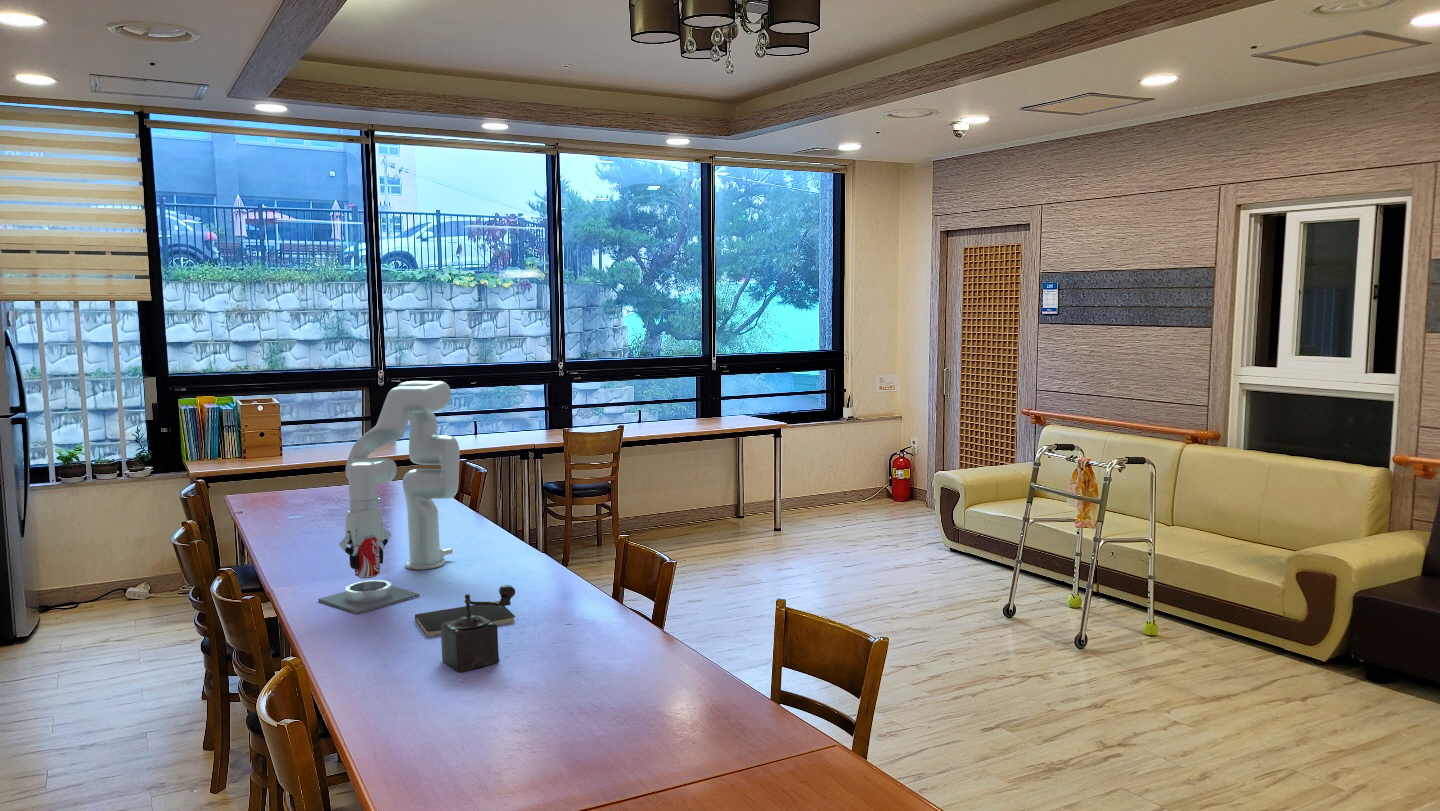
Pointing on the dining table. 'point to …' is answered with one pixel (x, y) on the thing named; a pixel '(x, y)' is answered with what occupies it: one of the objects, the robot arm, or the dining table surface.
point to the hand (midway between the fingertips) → (367, 565)
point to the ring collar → (368, 591)
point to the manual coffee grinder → (473, 637)
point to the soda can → (368, 558)
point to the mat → (357, 608)
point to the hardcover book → (435, 618)
